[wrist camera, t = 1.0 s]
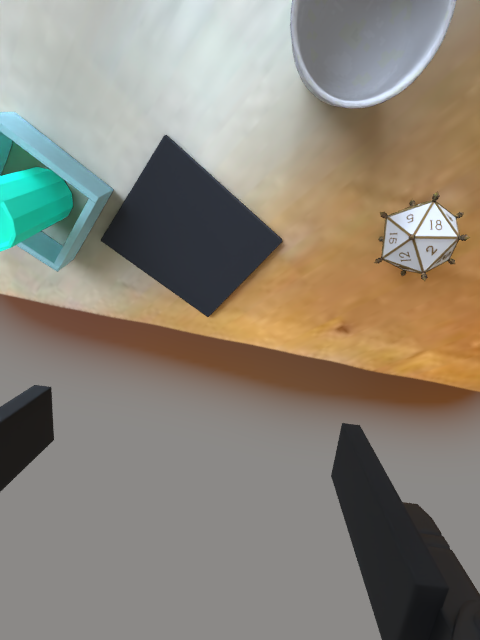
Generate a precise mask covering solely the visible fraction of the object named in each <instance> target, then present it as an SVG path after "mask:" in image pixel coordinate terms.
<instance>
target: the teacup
mask: <svg viewBox="0 0 480 640" xmlns="http://www.w3.org/2000/svg"><path fill="white" fill-rule="evenodd" d="M455 4H456V0H292V8H291V23H290V26H291V37H292V49H293V56H294V60H295V64H296V68H297V70H298V73H299V75H300V77H301V79H302V81H303V83H304V84H305V86H306V87H307V88H308V89H309V91H310V92H311V93H312V94H313V95H314V96H316V97H317V98H318V99H320V100H321V101H323V102H325V103H327V104H330V105H333V106H337V107H344V108H366V107H370V106H374V105H377V104H380V103H383V102H385V101H387V100H389V99H391V98H392V97H394V96H396V95H398V94H399V93H400V92H401V91H403V90H404V89H406V88H407V87H408V86H409V85H410V84H411V83H413V82H414V81H415V80H416V78H417V77H418V76H419V75H420V74H421V73H422V71H423V70H424V69H425V68H426V67H427V65H428V64H429V63H430V61H431V60H432V59H433V57H434V55H435V54H436V52H437V51H438V49H439V47H440V45H441V43H442V41H443V39H444V38H445V35H446V33H447V30H448V27H449V24H450V21H451V19H452V16H453V12H454V9H455Z"/></svg>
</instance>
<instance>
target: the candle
mask: <svg viewBox="0 0 480 640" xmlns="http://www.w3.org/2000/svg"><path fill="white" fill-rule="evenodd" d="M72 208H73V200H72V193H71V191H70V189H69V188H68V186H67V184H66V182H65V181H64V179H62V178H61V177H60V176H58V175H57V174H56V173H55V172H53V171H52V170H50V169H45V168H41V167H34V168H30V169H26V170H22V171H18V172H15V173H11V174H7V175H3V176H0V251H3V250H6V249H8V248H11V247H13V246H15V245H16V244H18V243H20V242H22V241H24V240H26V239H27V238H29V237H31V236H33V235H35V234H36V233H38V232H40V231H42V230H44V229H46V228H47V227H49V226H51V225H53V224H55V223H56V222H58V221H60V220H62V219H64V218H65V217H67V216H68V215H69V213H70V211H71V210H72Z"/></svg>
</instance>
